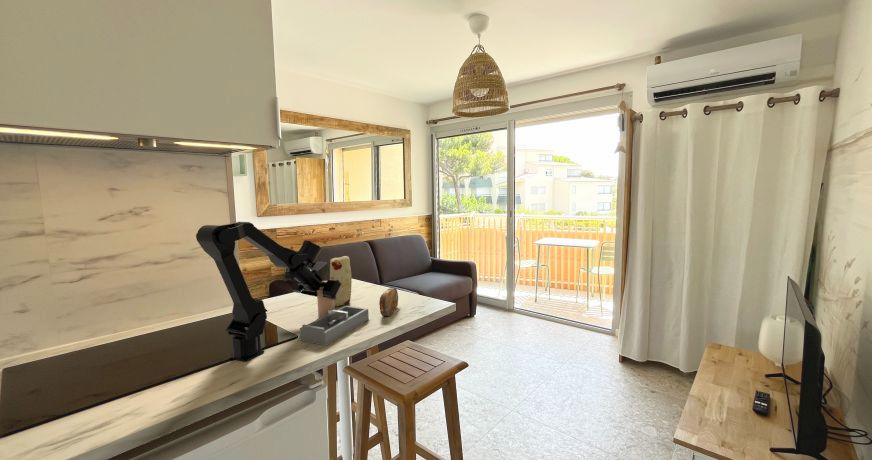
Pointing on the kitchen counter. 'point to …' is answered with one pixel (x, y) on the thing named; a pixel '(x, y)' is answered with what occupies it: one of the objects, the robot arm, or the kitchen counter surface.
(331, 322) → the pusher
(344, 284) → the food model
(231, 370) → the kitchen counter surface
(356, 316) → the grey tray
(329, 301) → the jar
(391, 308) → the brown flat rounded slab
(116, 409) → the kitchen counter surface
